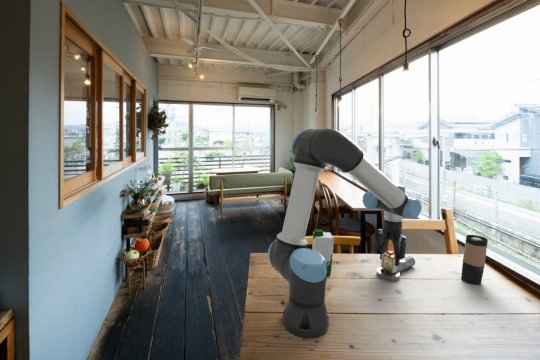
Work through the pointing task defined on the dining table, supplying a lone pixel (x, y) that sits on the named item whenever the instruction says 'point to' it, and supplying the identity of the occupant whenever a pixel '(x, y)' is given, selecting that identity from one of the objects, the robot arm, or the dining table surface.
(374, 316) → the dining table surface
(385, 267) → the yellow jar pink lid
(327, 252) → the milk carton
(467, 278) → the travel mug
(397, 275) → the grey ring-headed tool
